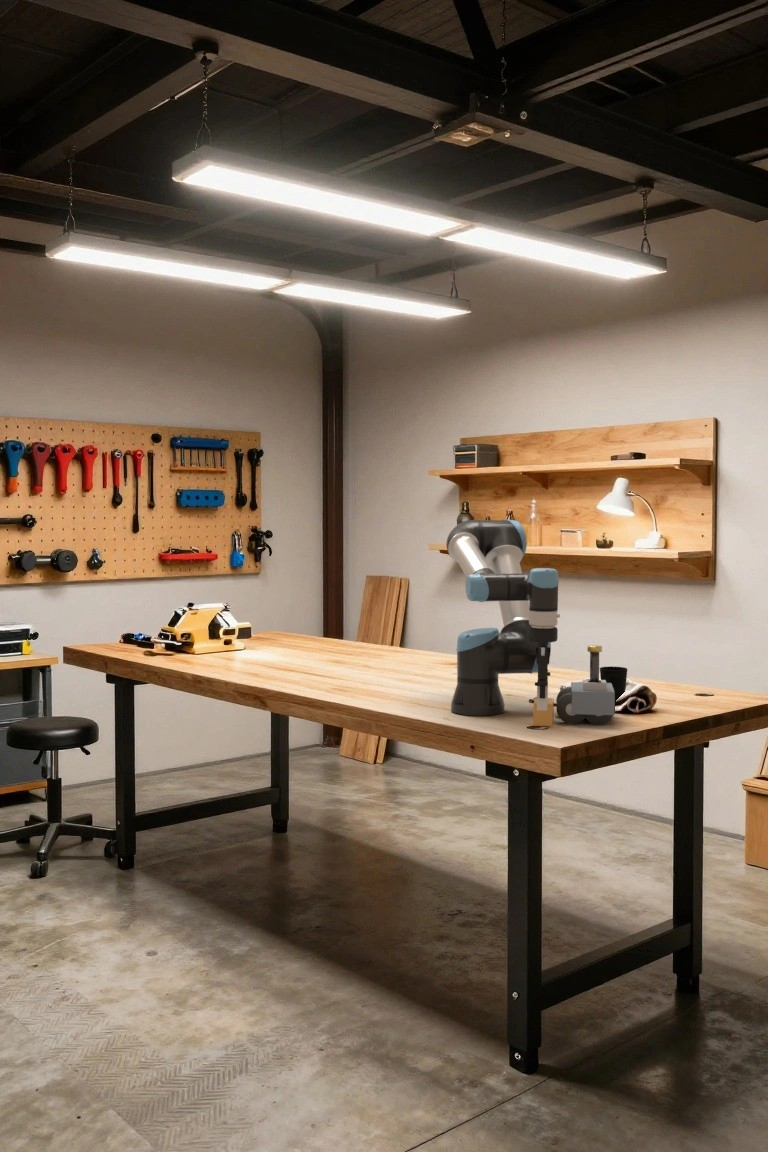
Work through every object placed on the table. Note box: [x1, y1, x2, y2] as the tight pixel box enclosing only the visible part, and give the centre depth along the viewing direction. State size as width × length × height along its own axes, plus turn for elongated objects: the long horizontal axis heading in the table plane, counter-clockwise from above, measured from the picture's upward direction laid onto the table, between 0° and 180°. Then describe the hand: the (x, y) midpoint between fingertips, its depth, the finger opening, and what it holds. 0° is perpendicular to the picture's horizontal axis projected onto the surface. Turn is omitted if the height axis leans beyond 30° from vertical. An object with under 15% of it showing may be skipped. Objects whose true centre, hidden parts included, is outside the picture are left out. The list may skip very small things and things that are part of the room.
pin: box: [586, 644, 603, 683], centre depth 274 cm, size 4×4×11 cm
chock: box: [532, 697, 555, 727], centre depth 275 cm, size 5×9×6 cm, turn 169°
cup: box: [599, 666, 628, 704], centre depth 292 cm, size 8×8×12 cm
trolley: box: [555, 679, 616, 726], centre depth 278 cm, size 15×16×11 cm
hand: (542, 705), depth 275 cm, fingers open, 13 cm apart
